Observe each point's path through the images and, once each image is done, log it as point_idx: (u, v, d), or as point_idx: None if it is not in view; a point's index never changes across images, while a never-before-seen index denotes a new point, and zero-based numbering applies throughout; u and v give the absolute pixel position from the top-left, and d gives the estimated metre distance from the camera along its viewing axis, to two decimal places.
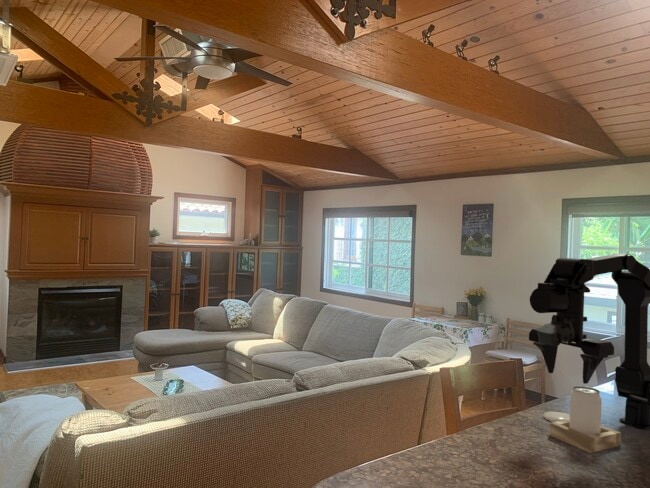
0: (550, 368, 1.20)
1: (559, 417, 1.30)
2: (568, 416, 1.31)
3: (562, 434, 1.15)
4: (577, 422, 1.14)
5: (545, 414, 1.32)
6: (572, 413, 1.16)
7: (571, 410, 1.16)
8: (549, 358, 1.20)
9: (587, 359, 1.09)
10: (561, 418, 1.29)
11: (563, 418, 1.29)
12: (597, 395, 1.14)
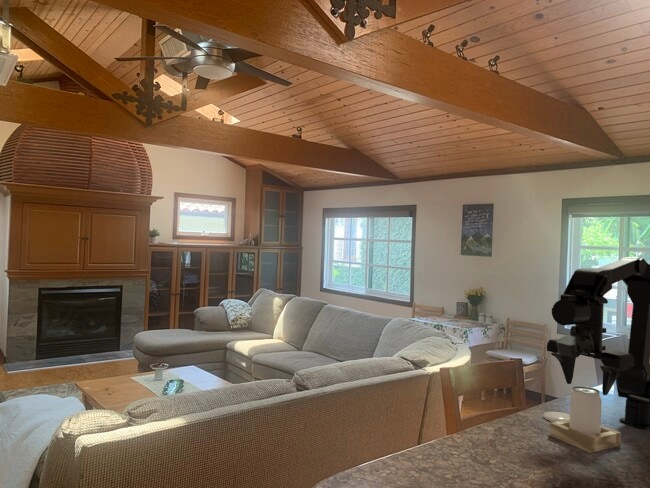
0: (568, 379, 1.20)
1: (559, 417, 1.30)
2: (568, 416, 1.31)
3: (562, 434, 1.15)
4: (577, 422, 1.14)
5: (545, 414, 1.32)
6: (572, 413, 1.16)
7: (571, 410, 1.16)
8: (567, 369, 1.20)
9: (607, 371, 1.09)
10: (561, 418, 1.29)
11: (563, 418, 1.29)
12: (597, 395, 1.14)
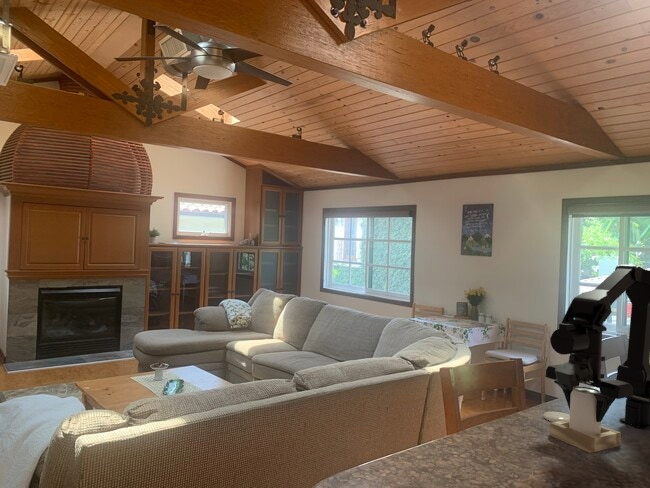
0: None
1: (559, 417, 1.30)
2: (568, 416, 1.31)
3: (562, 434, 1.15)
4: (577, 422, 1.14)
5: (545, 414, 1.32)
6: (572, 413, 1.16)
7: (571, 410, 1.16)
8: None
9: (601, 399, 1.10)
10: (561, 418, 1.29)
11: (563, 418, 1.29)
12: None
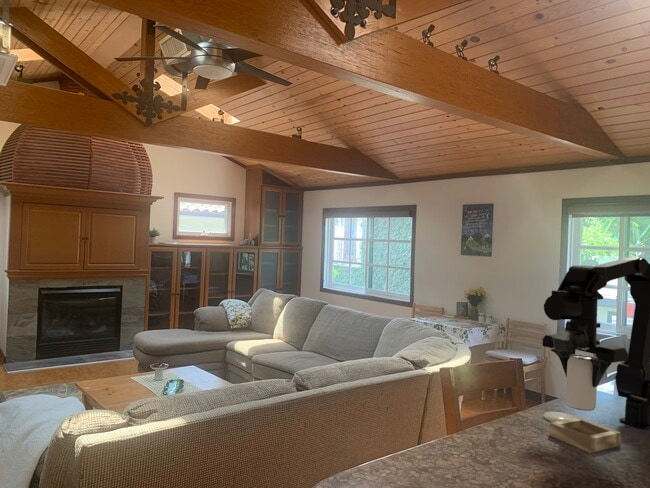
0: None
1: (559, 417, 1.30)
2: (568, 416, 1.31)
3: (562, 434, 1.15)
4: (574, 388, 1.17)
5: (545, 414, 1.32)
6: (568, 380, 1.19)
7: (568, 377, 1.19)
8: None
9: (597, 363, 1.13)
10: (561, 418, 1.29)
11: (563, 418, 1.29)
12: None
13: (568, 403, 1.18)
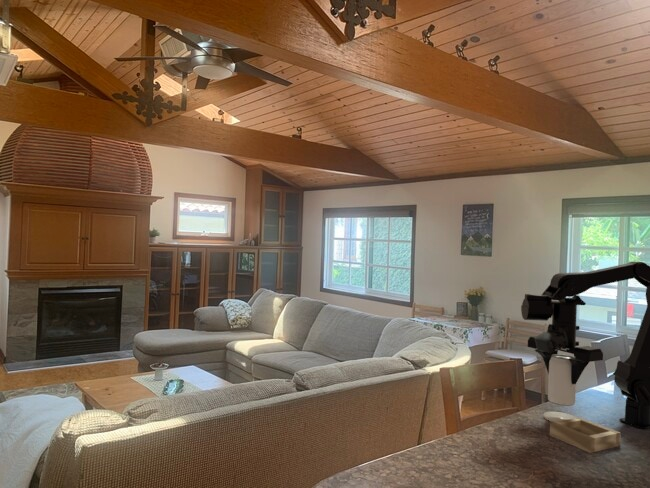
0: None
1: (559, 417, 1.30)
2: (568, 416, 1.31)
3: (562, 434, 1.15)
4: (555, 385, 1.28)
5: (545, 414, 1.32)
6: (550, 377, 1.30)
7: (549, 375, 1.30)
8: None
9: (575, 363, 1.24)
10: (561, 418, 1.29)
11: (563, 418, 1.29)
12: None
13: (550, 399, 1.29)
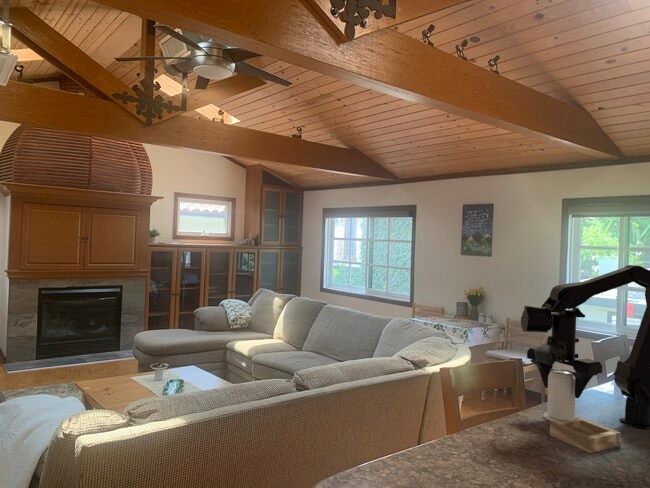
0: (546, 383, 1.34)
1: None
2: None
3: (562, 434, 1.15)
4: (554, 400, 1.28)
5: (545, 414, 1.32)
6: (549, 393, 1.29)
7: (548, 390, 1.30)
8: (545, 374, 1.34)
9: (578, 376, 1.23)
10: None
11: None
12: (571, 376, 1.27)
13: (549, 414, 1.29)
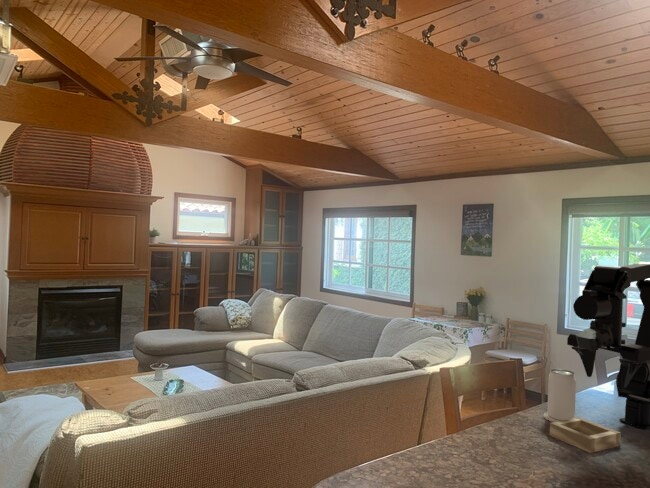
0: (588, 372, 1.24)
1: None
2: None
3: (562, 434, 1.15)
4: (554, 400, 1.28)
5: (545, 414, 1.32)
6: (549, 393, 1.29)
7: (549, 390, 1.30)
8: (587, 362, 1.24)
9: (626, 363, 1.13)
10: None
11: None
12: (572, 376, 1.27)
13: (549, 414, 1.29)
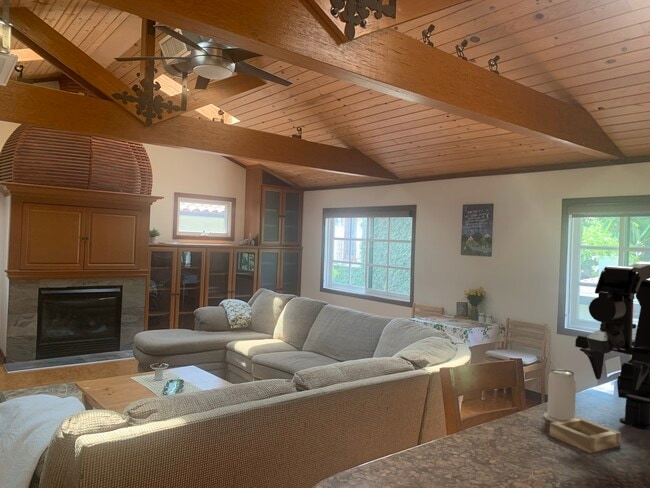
0: (597, 374, 1.22)
1: None
2: None
3: (562, 434, 1.15)
4: (554, 400, 1.28)
5: (545, 414, 1.32)
6: (549, 393, 1.29)
7: (549, 390, 1.30)
8: (596, 364, 1.22)
9: (638, 366, 1.11)
10: None
11: None
12: (572, 376, 1.27)
13: (549, 414, 1.29)
